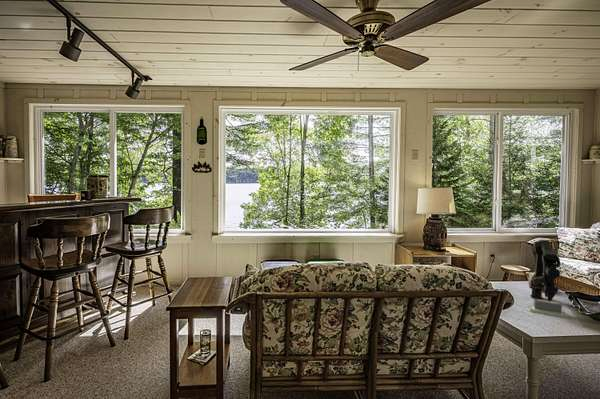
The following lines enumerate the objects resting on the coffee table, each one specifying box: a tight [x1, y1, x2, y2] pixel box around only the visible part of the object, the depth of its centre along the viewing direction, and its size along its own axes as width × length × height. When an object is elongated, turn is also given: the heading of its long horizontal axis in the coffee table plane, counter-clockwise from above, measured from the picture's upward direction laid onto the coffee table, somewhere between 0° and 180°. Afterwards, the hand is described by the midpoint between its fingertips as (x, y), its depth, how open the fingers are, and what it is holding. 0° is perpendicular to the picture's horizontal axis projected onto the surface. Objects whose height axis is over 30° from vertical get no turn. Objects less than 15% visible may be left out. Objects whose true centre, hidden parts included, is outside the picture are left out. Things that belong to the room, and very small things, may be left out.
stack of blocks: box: [528, 271, 544, 293], centre depth 247 cm, size 21×6×12 cm, turn 163°
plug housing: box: [533, 298, 563, 313], centre depth 198 cm, size 5×13×5 cm, turn 62°
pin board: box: [527, 304, 568, 319], centre depth 198 cm, size 9×18×4 cm, turn 62°
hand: (547, 299), depth 198 cm, fingers open, 9 cm apart
